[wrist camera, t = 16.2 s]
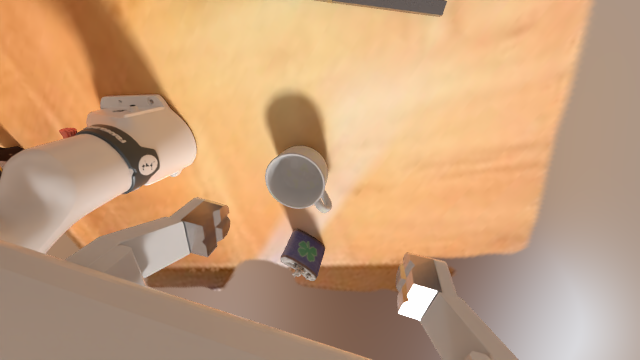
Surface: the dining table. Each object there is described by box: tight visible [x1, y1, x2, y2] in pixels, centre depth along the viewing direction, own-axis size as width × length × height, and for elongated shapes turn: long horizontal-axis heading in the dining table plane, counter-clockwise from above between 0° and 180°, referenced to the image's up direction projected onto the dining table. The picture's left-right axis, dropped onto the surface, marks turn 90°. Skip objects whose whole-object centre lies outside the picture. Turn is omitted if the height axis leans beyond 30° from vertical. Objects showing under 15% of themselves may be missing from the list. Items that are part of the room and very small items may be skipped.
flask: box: [281, 229, 325, 281], centre depth 52 cm, size 9×3×11 cm, turn 57°
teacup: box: [265, 146, 332, 213], centre depth 44 cm, size 14×11×8 cm
